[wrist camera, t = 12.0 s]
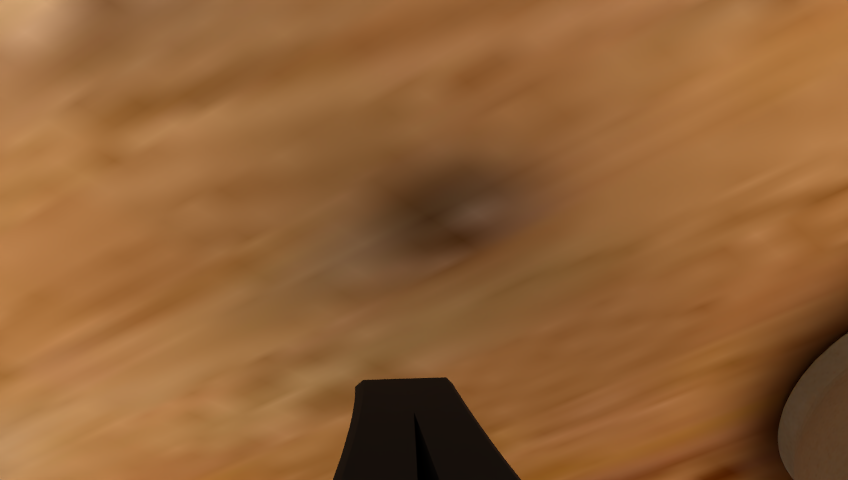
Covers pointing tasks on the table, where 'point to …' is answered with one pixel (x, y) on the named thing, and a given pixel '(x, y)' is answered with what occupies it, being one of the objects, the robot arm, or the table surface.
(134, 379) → the table surface
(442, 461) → the robot arm
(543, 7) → the table surface
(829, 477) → the planter bowl
